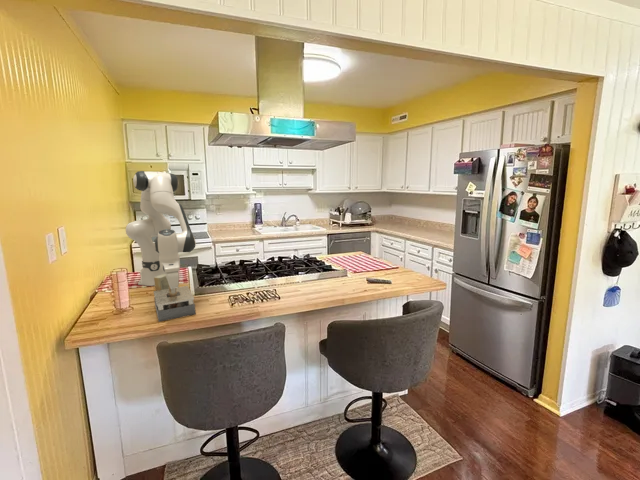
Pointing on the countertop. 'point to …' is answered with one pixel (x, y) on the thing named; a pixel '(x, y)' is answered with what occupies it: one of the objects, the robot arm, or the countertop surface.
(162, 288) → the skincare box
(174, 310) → the breaker housing
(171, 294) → the grey block
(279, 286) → the countertop surface
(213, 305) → the countertop surface
